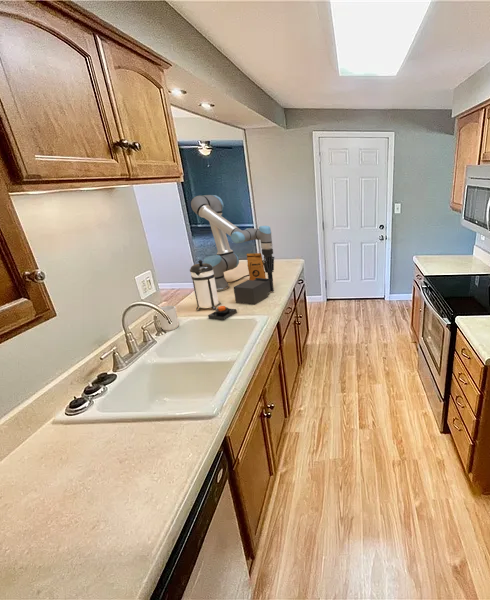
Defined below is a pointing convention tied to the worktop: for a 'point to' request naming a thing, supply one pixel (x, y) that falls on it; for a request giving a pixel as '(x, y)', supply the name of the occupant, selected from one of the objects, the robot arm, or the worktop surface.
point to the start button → (221, 308)
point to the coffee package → (255, 266)
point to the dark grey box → (250, 292)
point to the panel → (222, 314)
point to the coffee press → (204, 285)
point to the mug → (173, 316)
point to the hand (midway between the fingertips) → (270, 281)
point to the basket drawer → (269, 284)
